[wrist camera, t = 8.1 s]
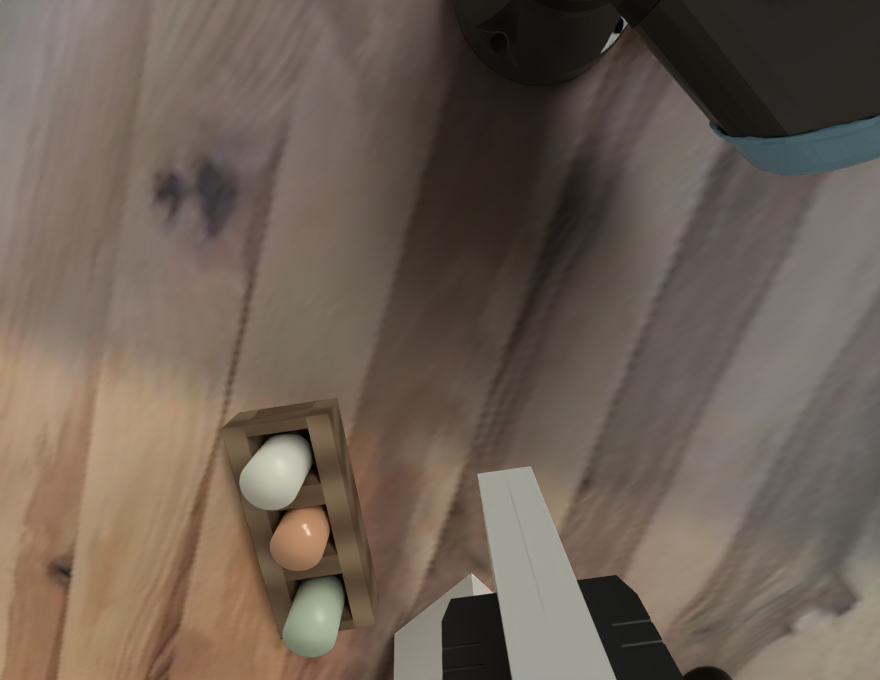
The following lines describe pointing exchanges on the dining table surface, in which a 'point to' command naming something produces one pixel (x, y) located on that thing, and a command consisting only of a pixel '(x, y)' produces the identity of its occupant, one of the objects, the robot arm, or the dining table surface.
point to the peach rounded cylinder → (301, 537)
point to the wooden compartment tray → (320, 486)
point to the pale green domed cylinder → (315, 616)
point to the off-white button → (277, 471)
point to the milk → (428, 635)
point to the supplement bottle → (707, 674)
